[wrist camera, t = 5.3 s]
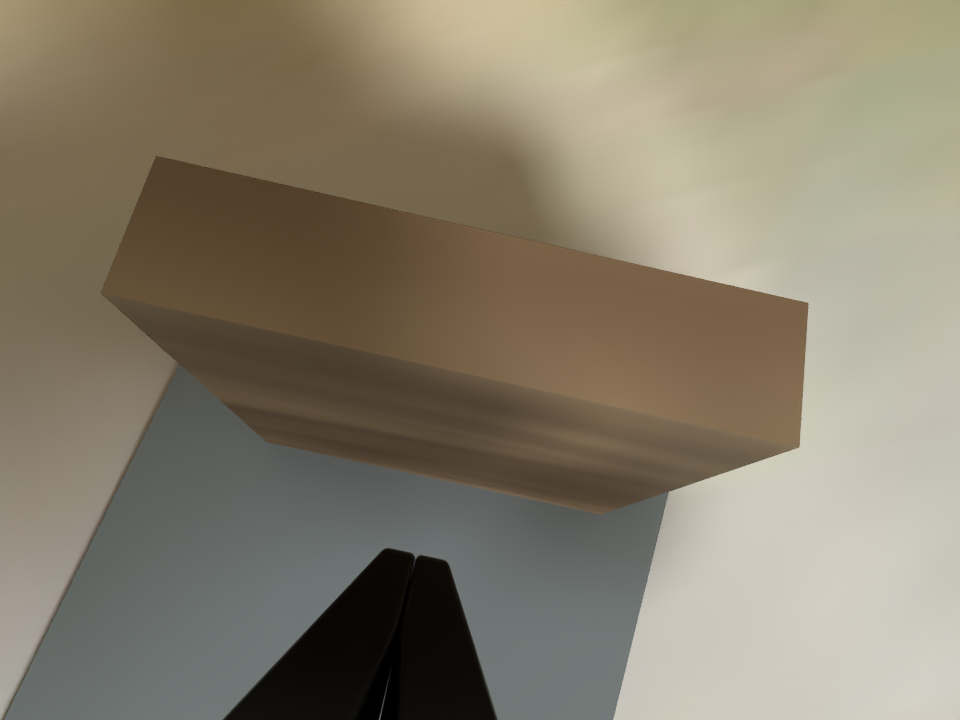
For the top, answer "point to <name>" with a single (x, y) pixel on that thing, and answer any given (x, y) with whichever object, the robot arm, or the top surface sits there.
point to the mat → (323, 576)
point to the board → (456, 343)
